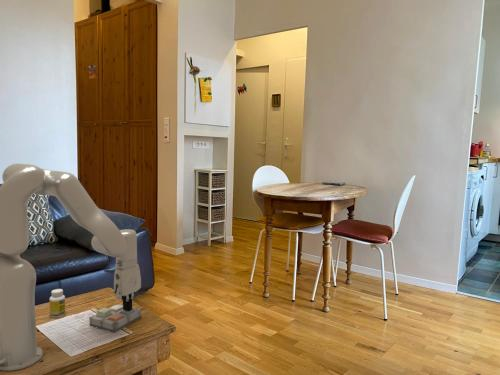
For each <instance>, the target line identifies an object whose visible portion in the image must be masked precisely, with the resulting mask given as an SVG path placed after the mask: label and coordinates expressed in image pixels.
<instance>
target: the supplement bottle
mask: <svg viewBox="0 0 500 375" xmlns="http://www.w3.org/2000/svg"><path fill="white" fill-rule="evenodd" d="M50 294H51V296H50V297H49V317H50V318H61V317H64V316H65V315H66V295H64V290H63V289H62V288H56V289H53V290H51V293H50Z"/></svg>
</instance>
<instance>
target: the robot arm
mask: <svg viewBox="0 0 500 375" xmlns="http://www.w3.org/2000/svg"><path fill="white" fill-rule="evenodd" d="M1 178H2V184H1V185H0V371H5V372H6V371H7V372H8V371H9V372H10V371H12V372H13V371H19V370H22V369H25V368H27V367H30V366H32V365H35V363H37V362H39V361H40V359H42V357H43V354H44V353H43V349H42V348H41V347H39V346H38V344H37V327H36V326H37V324H36V306H35V304H36V303H35V298H36V297H35V294H36V293H35V291H36V285H37V284H36V283H37V272H36V269H35V267H34V266H33V265H32V264H31V263H30V262H29V261H28V260H26V259H24V258H21V254H23V253H24V252H25V251H26V250H27V248H28V246H29V245H30V232H29V222H28V205H29V201H30V200H31V198H32V196H33V195H34V194H36V195H37V194H38V195H43V196H53V197H56V199H57V201H58V202H59V203H60V204H61V205H62V207H63V208H64V210H66V212H67V213H68V215H69V216H70V217H71V219H72V220H73V222H75V223H76V224H77V225H79V226H80V227H82V228H83V229H85V230H87V231H88V232H90V233H91V234H92V235H93V236H92V239H91V241H90V243H91V246H92V248H93V250H94V251H96V252H98V253H100V254H102V255H106V256H109V257H112V258H115V265H114V267H115V270H114V275H113V292H114V295H115V300H121V301H122V305H123V310H126V311H130V310H132V307H133V299H134V297H135V296H134V295H135V294H136V293H137V292H138V291H139V290H140V289H141V288H142V277H141V269H140V266H139V263H138V244H137V243H138V242H137V241H138V239H137V237H138V236H137V232H136V230H135V229H132V228H131V229H130V228H128V229H126V228H125V229H119V227H118V226H117V225H116V224H115V223H114V221H112V220H111V218H110V217H108V215H107V214H105V213H104V211H102V209H100V208H99V207H98V206H97V205H96V204H95V202H94V200H93V198H91V196H90V195H89V193H88V192H87V190H86V189H85V187H84V186H83V185H82V183H81V182H80V180H79V179H78V177H76V176H75V175H74V174H72V173H71V172H67V171H59V170H51V169H45V168H41V167H39V166H37V165H34V164H28V163H25V164H24V163H14V164H11V165H8V166H7V167H6V168H5V169H4V170H3V172H2V176H1Z"/></svg>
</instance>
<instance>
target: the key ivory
mask: <svg viewBox="0 0 500 375" xmlns="http://www.w3.org/2000/svg"><path fill="white" fill-rule="evenodd" d="M112 306H113V307H112ZM112 306H110V307H111V308H110V307H109V308H110V309H111V311H113V312H118V311H120V310H122V309H123V306H119V305H116V304H115V306H114V305H112Z"/></svg>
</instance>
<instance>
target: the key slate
mask: <svg viewBox="0 0 500 375" xmlns="http://www.w3.org/2000/svg"><path fill="white" fill-rule="evenodd" d="M133 312H134V309H132V310H130V311H126V310H121V314H125V315H129V314H131V313H133Z"/></svg>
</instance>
